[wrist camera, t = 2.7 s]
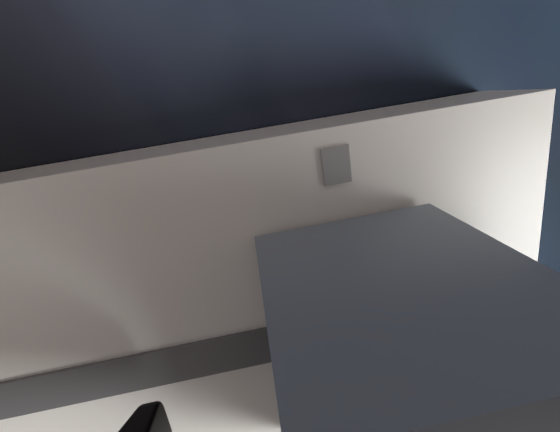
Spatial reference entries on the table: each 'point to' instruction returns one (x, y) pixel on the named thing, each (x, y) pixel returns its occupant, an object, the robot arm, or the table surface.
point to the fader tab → (409, 327)
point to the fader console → (225, 250)
